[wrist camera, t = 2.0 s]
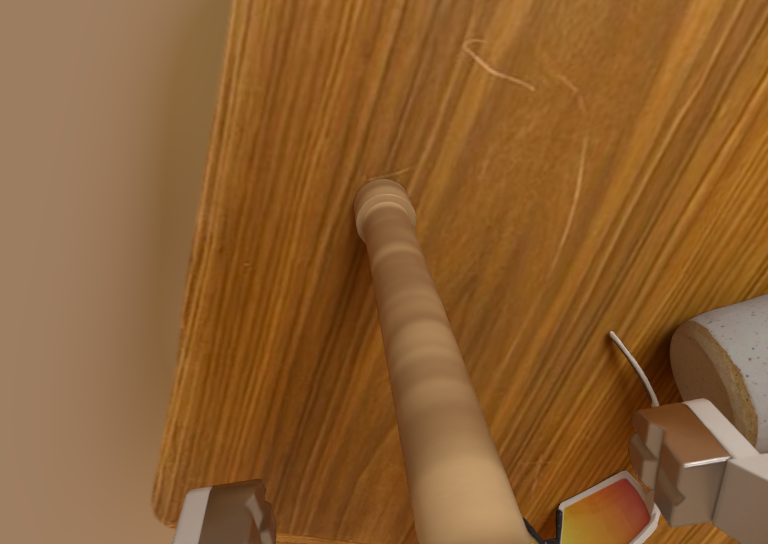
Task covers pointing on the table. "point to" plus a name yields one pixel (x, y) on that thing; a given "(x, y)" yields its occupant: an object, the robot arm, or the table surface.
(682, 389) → the ceramic mug
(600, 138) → the table surface
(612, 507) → the sunglasses
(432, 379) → the stir stick
